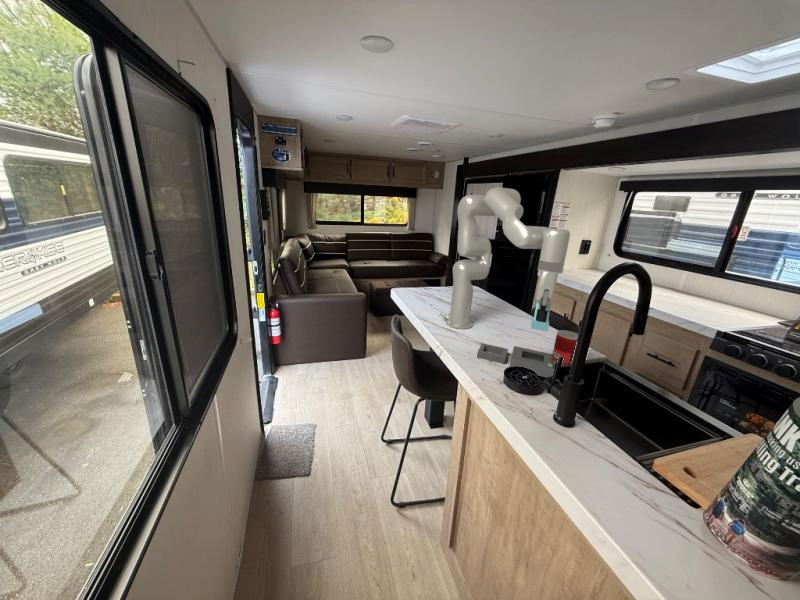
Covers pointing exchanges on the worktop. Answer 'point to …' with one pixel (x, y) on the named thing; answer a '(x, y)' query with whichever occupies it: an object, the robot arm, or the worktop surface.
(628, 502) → the worktop surface
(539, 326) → the plug
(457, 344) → the worktop surface
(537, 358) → the port
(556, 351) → the canned food
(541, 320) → the robot arm
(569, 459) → the worktop surface
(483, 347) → the holster
